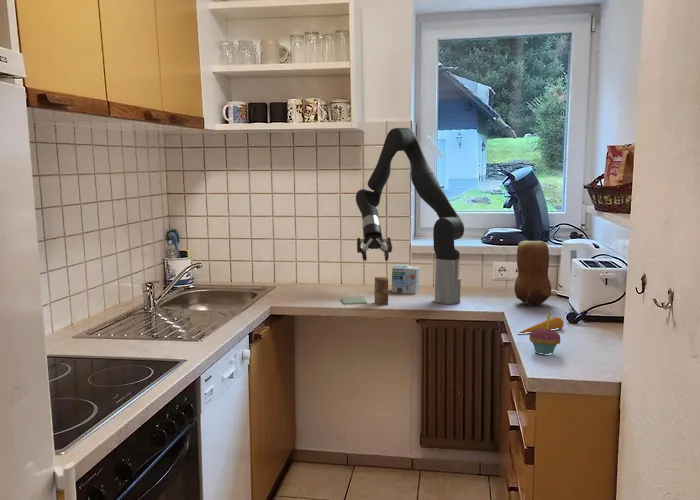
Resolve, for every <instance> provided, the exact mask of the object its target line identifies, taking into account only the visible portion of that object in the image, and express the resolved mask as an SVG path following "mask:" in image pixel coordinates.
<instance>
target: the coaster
mask: <svg viewBox="0 0 700 500" xmlns="http://www.w3.org/2000/svg"><path fill="white" fill-rule="evenodd" d="M340 300H341V301H342V303H343V305H362V304H363V305H367V304H368V301H367V300H366V299H365V297H364V296H355V297H354V296H353V297H341V299H340Z"/></svg>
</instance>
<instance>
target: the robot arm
mask: <svg viewBox="0 0 700 500" xmlns="http://www.w3.org/2000/svg"><path fill="white" fill-rule="evenodd" d="M421 147H422V146H421V145H420V141H419V140H418V137H417V135H416V133H415V132H414V131H413V130H412V129H410V128H408V127H394V128H391V129H390V131H388V133H387V135H386V137H385V140H384V143H383V146H382V149H381V151H380V155H379V158H378V160H377V163H376V166H375V168H374V170H373V172H372V173H371V176H370V177H369V179H368V181H367V187H368V188H369V189H370V190H369V189H363V188H362V189H359V190H358V191H357V193H356V194H355V202H356V206H357V207H358V210H359V212H360V214H361V217H362V218H361V219H362V220H361V221H362V224H361V225H362V232H363V239H362V238H360V237H357V238H356V252H357V253H358V254H359V253H361V257H362V260H363V262H367V259H368V257H367V251H368V250H378V249H379V250H380V252H383V255H384V261H385V262H387V261H388V260H389V258H390V255H389V254H390V253H392V252H393V251H392V250H393V245H392V244H393V243H392V240H391V238H390V237H387V238H384V237H383V233H382V226H381V221H380V217H379V211H378V209H377V207H378V206H379V204H380V202H381V197H382V192H383V190H384V187H385V185H386V183H387V182H388V180H389V178H390V175H391V170H392V169H391V167H392V166H391V164H392V160H393V158H394V157H395V155H396V154H397V153H398V152H404V153H405V155H406V157H407V159H408V161H409V163H410V179H411V183H412V185H413V186H414V189H415V191H416V192H417V194H418V196H419V197H420V198H421V199H422V201H424V203H426V204H427V205H428V206H429V207H430V208H431V209H432V210H433V211H434V212H435V213H436V215H437V217H438V219H437V220H436V221H435V223H434V224H433V229H432V230H433V233H432V236H433V250H434V254H435V265H434V266H435V267H434V268H435V270H434V271H435V273H434V302H435V303H438V304H442V305H443V304H445V305H453V304H459V303H461V286H462V285H461V282H462V280H461V279H462V278H460V258H461V255H460V250H458V249H456V247H455V241H457V240H460V239H461V238H462V237H463V236H464V233H465V225H464V222H463V221H462V219H461V217H460V216H459V215H458V213H457V211H456V210H455V208H454V207H453V206H452V204H451V203H450V201H449V199H448V197H447V196H446V193H445V191H444V190H443V188H442V186H441V185H440V184H441V183H440V182H439V180H438V178H437V176H436V175H435V173H434V171H433V170H432V168H431V165H430V164H429V162H428V160H427V158H426V156H425V155H424V152H423V150H422V148H421ZM362 244H364V246H363V248H362Z"/></svg>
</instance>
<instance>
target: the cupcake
mask: <svg viewBox="0 0 700 500" xmlns="http://www.w3.org/2000/svg"><path fill="white" fill-rule="evenodd" d="M546 316H547V317H546V320H547V324H546V328H545V329H544V328H538V329H536V330H534V331H533V332H531V333H530V334H529V342H531V343H532V345H533V347H534V352H535V351H536V352H538V353H543V354H549V353H553V354H554V351H555V349H556V347H557V345H559V344H560V343H561V334H559V332H557V331H556V330H551V329H548V328H549V319H551V317H550V316H551V314H550V310H549V311H548V313H547V315H546ZM536 352H535V353H536Z"/></svg>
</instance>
